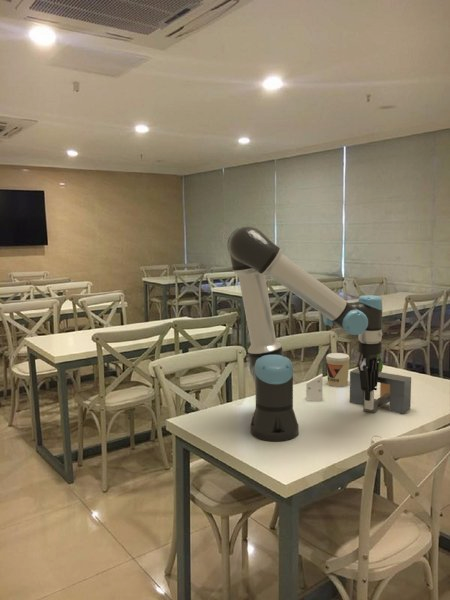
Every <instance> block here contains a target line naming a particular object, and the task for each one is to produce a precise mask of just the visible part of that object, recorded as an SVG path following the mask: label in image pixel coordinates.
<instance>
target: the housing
mask: <svg viewBox="0 0 450 600" xmlns="http://www.w3.org/2000/svg"><path fill="white" fill-rule="evenodd" d="M377 383H384V384H390V401H389V412H392V413H396V414H400V415H405V414H406V413H408V412H409V411H411V403H412V402H411V401H412V377H411V376H405V375H399V374H394V373H388V372H382V371H381V372H379V374H378V382H377ZM364 399H365V391H364V390H361V382H360V373H359V369H358V367H357V368H355V369H352V370H351V371H350V372H349V403H352V404H356V405H360V406H363V400H364Z"/></svg>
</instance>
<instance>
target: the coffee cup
mask: <svg viewBox="0 0 450 600" xmlns="http://www.w3.org/2000/svg"><path fill="white" fill-rule="evenodd" d="M325 358H326V359H325V360H326V374H327V377H326V378H327V385H328V384H329V386H331V387H334V388H335V387H336V388H343V387H347V385H348V381H349V368H350V355H348V354H347V353H342V352H331V353H328V354H327V355H326V357H325Z"/></svg>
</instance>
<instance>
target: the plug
mask: <svg viewBox="0 0 450 600" xmlns="http://www.w3.org/2000/svg"><path fill="white" fill-rule="evenodd" d="M379 386H380V387H379V389H380V390H379V393H380V394H379V397H378V398H374V409H373V410H369V409H364V400H363V405H362V409H363V411H364V412H367V413H372V414H375V413H377V412H378V411H379V408H381V407H382V406H384V405H386V404H387V403H388V402H389V403H390V384H384V383H380V385H379Z"/></svg>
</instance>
